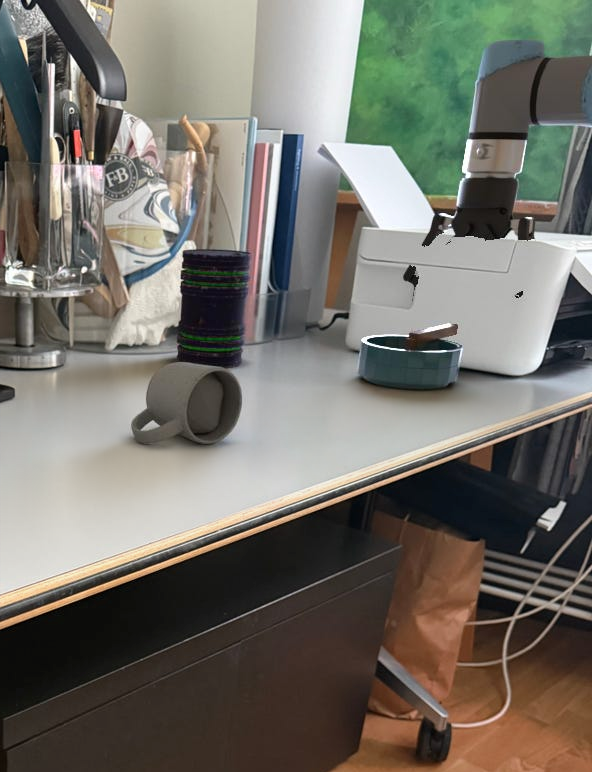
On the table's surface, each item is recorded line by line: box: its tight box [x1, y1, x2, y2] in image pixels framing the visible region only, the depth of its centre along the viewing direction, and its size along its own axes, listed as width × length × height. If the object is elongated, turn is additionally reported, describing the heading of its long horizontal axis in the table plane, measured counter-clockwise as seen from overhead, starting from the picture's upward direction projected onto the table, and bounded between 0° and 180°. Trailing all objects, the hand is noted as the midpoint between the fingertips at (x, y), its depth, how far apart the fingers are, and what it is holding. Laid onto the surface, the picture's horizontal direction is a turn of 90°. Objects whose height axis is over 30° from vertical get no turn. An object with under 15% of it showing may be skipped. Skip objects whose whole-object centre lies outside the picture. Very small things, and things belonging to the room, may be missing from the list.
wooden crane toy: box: [405, 323, 458, 351], centre depth 131 cm, size 18×6×7 cm, turn 134°
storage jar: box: [176, 248, 252, 369], centre depth 134 cm, size 10×10×15 cm
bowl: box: [356, 334, 463, 390], centre depth 128 cm, size 13×13×5 cm
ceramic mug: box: [130, 361, 243, 445], centre depth 97 cm, size 11×8×8 cm
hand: (461, 339), depth 136 cm, fingers open, 13 cm apart
